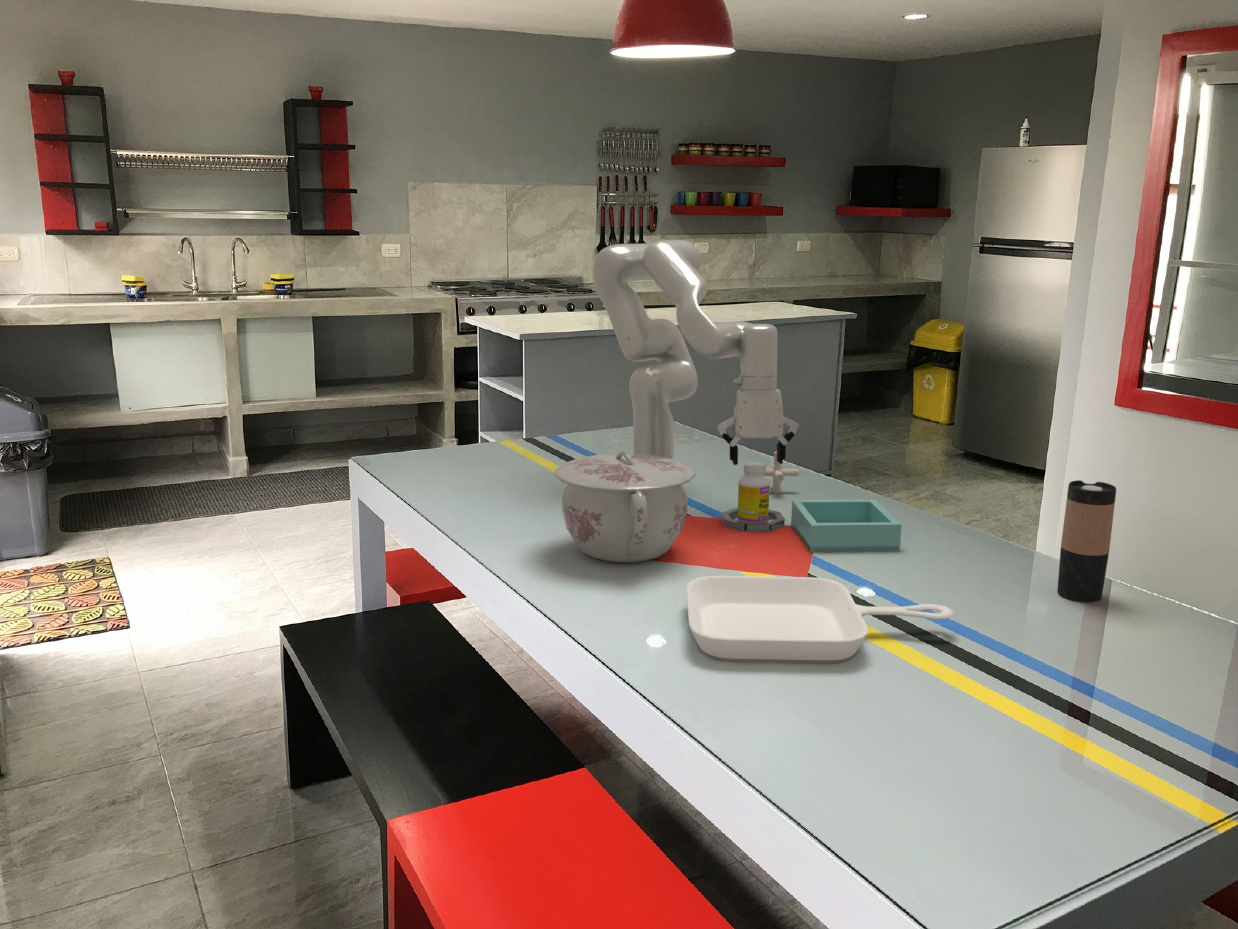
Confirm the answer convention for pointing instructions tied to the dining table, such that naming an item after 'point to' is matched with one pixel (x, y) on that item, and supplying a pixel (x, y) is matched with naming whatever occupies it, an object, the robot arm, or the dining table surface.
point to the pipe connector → (779, 474)
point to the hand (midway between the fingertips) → (757, 462)
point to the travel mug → (1086, 540)
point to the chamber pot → (624, 504)
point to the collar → (752, 527)
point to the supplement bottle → (753, 494)
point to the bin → (845, 525)
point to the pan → (783, 618)
